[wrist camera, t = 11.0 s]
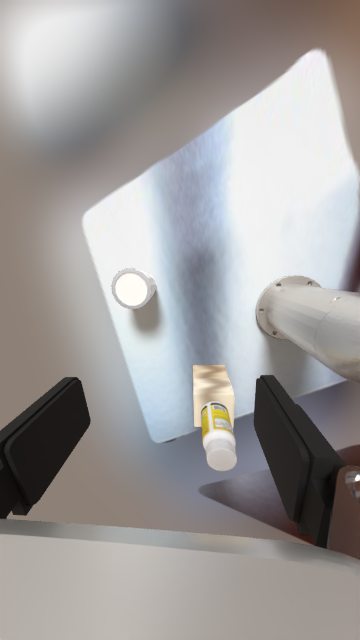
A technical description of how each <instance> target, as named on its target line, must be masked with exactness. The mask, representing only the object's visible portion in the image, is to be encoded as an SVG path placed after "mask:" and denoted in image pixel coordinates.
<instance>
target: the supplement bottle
mask: <svg viewBox="0 0 360 640" xmlns="http://www.w3.org/2000/svg"><path fill="white" fill-rule="evenodd" d="M201 424H202V440H203V447H204V449H205V451H206V458H207V463H208V465H209V466H210V467H212V468H213V469H215V470H217V471H227V470H230V469H232V468H233V467H234V466H235V465H236V463H237V457H236V451H235V446H236V442H235V437H234V434H233V429H232V425H231V421H230V417H229V413H228V410H227V408H226V406H225V405H224V404H222V403H220V402H217V401H212V402H208V403H206V404H205V405H204V406H203V407H202V409H201Z"/></svg>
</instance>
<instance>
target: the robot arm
mask: <svg viewBox="0 0 360 640" xmlns="http://www.w3.org/2000/svg"><path fill="white" fill-rule="evenodd" d="M307 283H308V284H307ZM276 284H278V285H277V286H276ZM260 309H261V311H260ZM256 316H257V320H258V323H259V324H260V326H261V327H262V329H263V330H264V331H265V332H267V333H268V334H269V335H271V336H273V337H275V338H278V339H284V340H291V341H292V342H293V343H295V344H296V345H297V346H299V347H300V348H301V349H303V350H304V351H306V352H307V353H308V354H310V355H311V356H312V357H314V358H315V359H316V360H318V361H319V362H321V363H322V364H323V365H325V366H326V367H328V368H329V369H330V370H332V371H333V372H335V373H336V374H338V375H339V376H341V377H343V378H345V379H348V380H351V381H353V382H357V383H360V293H356V292H349V291H342V290H335V289H328V288H322V287H321V286H320V285H319V284H318V283H317V282H316V281H314V280H312V279H310V278H308V277H304V276H287V277H283V278H280V279H278V280H276V281H274V282H273V283H271V284H270V285H269V286H268V287H267V288H266V289H265V290H264V291H263V292H262V294H261V296H260V298H259V299H258V303H257V307H256ZM273 331H274V332H273ZM89 425H90V416H89V412H88V407H87V403H86V399H85V396H84V392H83V387H82V384H81V381H80V380H79V379H78V378H77V377H65V378H63V379H62V380H61V381H60V382H59V383H57V384H56V385H55V386H54V387H53V388H51V389H50V390H49V391H48V392H47V393H45V394H44V395H43V396H42V397H40V398H39V399H38V400H37V401H36V402H34V403H33V404H32V405H31V406H30V407H28V408H27V409H26V410H25V411H24V412H22V413H21V414H20V415H19V416H18V417H16V418H15V419H14V420H13V421H12V422H10V423H9V424H8V425H7V426H6V427H4V428H3V429H2V430H1V431H0V640H360V467H356V466H346V464H345V463H344V462H343V461H342V459H341V458H340V457H339V455H338V454H337V453H336V452H335V450H334V449H333V448H332V446H331V445H330V444H329V443H328V441H327V440H326V439H325V438H324V436H323V435H322V434H321V432H320V431H319V430H318V428H317V427H316V426H315V425H314V423H313V422H312V421H311V419H310V418H309V417H308V415H307V414H306V413H305V412H304V411H303V409H302V408H301V407H300V406H299V405H297V404H295V403H294V402H293V401H292V399H291V398H290V397H289V395H288V394H287V393H286V391H285V390H284V389H283V387H282V386H281V385H280V383H279V382H278V381H277V379H276V378H275V377H274V376H273V375H261V376H260V378H257V380H256V393H255V409H254V427H255V431H256V433H257V436H258V439H259V441H260V444H261V447H262V449H263V452H264V455H265V457H266V460H267V463H268V465H269V468H270V470H271V473H272V476H273V478H274V481H275V484H276V486H277V489H278V492H279V494H280V497H281V499H282V502H283V505H284V507H285V510H286V513H287V515H288V517H289V519H290V520H291V521H295V523H296V526H297V528H298V531H299V533H300V535H310V536H312V539H313V541H314V543H315V545H316V546H311V545H304V544H298V543H292V542H287V541H277V540H267V539H258V538H247V537H238V536H228V535H216V534H202V533H191V532H178V531H166V530H152V529H140V528H127V527H113V526H99V525H84V524H71V523H57V522H42V521H27V520H11V519H7V516H8V514H9V513H10V512H11V511H12V513H13V515H27V513H28V512H29V511H30V509H31V508H32V506H33V505H34V504H36V503H37V502H38V501H39V500H40V498H41V497H42V495H43V494H44V492H45V491H46V489H47V488H48V486H49V485H50V483H51V482H52V481H53V479H54V477H55V476H56V474H57V473H58V472H59V470H60V469H61V467H62V466H63V464H64V463H65V461H66V460H67V458H68V457H69V455H70V454H71V452H72V451H73V449H74V448H75V446H76V445H77V443H78V442H79V440H80V438H81V437H82V436H83V434H84V433H85V432H86V430H87V429H88V427H89Z"/></svg>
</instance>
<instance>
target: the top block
mask: <svg viewBox="0 0 360 640" xmlns="http://www.w3.org/2000/svg"><path fill="white" fill-rule="evenodd" d="M193 395H194V424H195V427H202V424H201V409H202V407H203V406H204V405H205V404H206V403H208V402H212V401H217V402H220V403H222V404H224V405H225V406H226V408H227V410H228V413H229V417H230V421H231V425H232V428H233V421H234V397H235V395H234V392H233V389H232V386H231V382H230V379H229V378H194V392H193Z"/></svg>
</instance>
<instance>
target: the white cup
mask: <svg viewBox="0 0 360 640" xmlns="http://www.w3.org/2000/svg"><path fill="white" fill-rule="evenodd" d="M155 290H156V282H155V280H154V278H153V277H152V276H151V275H150V274H148V273H146V272H143V271H140V270H137V269H124V270H121V271H119V272H118V273H117V274H116V275H115V277H114V278H113V282H112V294H113V296H114V298H115V300H116V301H117V302H118V303H119V304H120V305H121V306H123V307H125V308H128V309H138V308H140V307H143V306H144V305H145V304H146V303H147V302H148V301H149V300H150V298H151V297H152V296H153V295H154V293H155Z"/></svg>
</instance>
